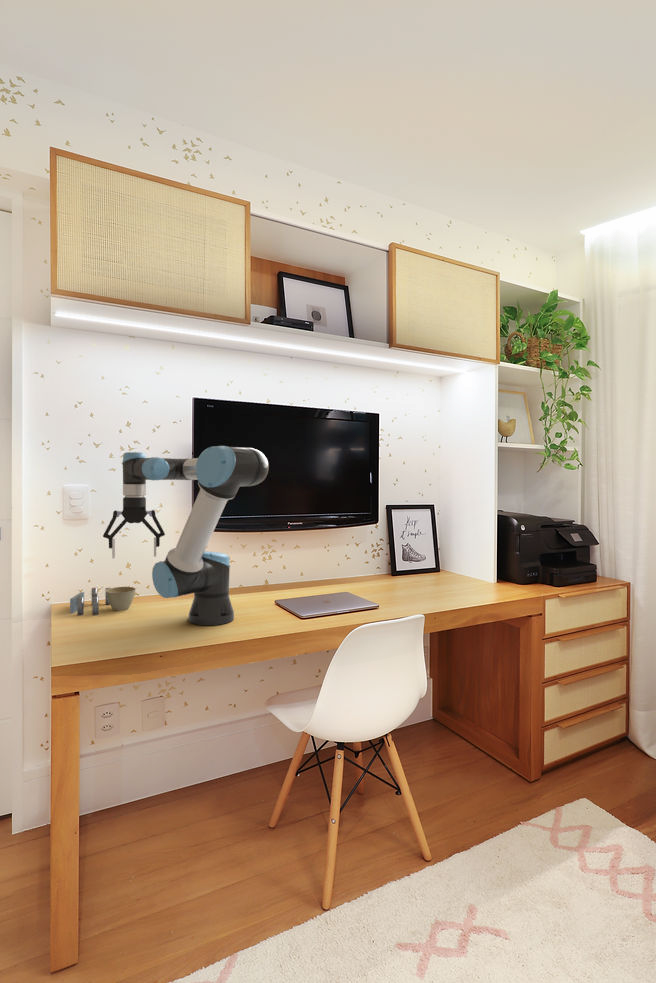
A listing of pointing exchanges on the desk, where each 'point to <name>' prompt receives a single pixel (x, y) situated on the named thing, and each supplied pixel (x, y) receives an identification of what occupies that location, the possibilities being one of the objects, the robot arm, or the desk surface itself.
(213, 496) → the robot arm
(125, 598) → the flower pot
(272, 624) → the desk surface
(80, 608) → the pin cradle
